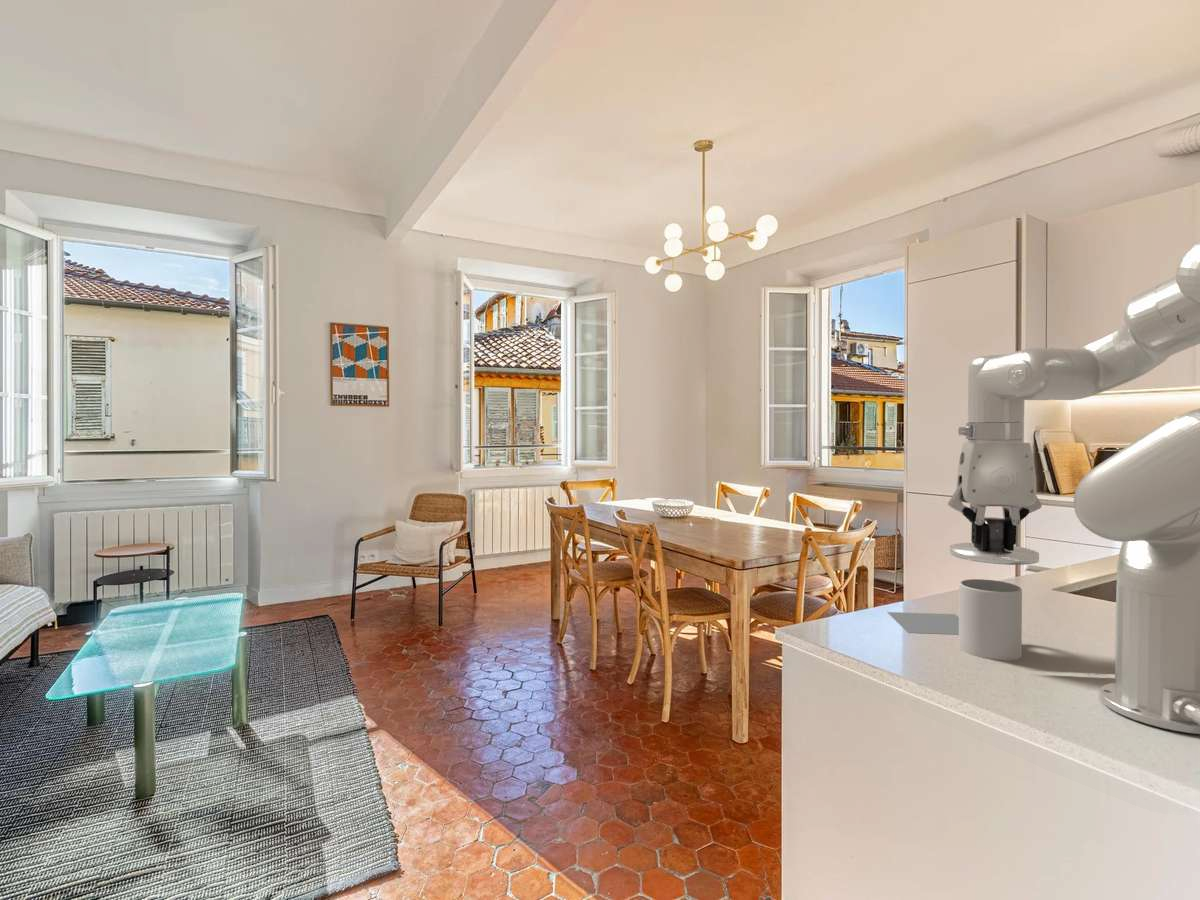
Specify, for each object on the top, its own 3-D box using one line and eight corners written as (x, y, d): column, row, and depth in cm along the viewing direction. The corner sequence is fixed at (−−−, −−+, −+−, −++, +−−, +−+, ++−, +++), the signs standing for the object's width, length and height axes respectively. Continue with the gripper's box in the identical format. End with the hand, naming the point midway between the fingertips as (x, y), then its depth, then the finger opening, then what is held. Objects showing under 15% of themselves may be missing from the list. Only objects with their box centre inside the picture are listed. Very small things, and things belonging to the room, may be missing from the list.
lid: (1055, 565, 92) (1056, 525, 92) (968, 563, 94) (969, 524, 94) (1015, 549, 104) (1016, 513, 104) (938, 547, 106) (939, 513, 106)
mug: (1009, 668, 92) (1009, 595, 92) (948, 652, 99) (949, 584, 99) (1038, 650, 99) (1039, 582, 99) (980, 636, 106) (980, 573, 106)
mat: (983, 638, 105) (983, 635, 105) (908, 636, 107) (908, 632, 107) (954, 617, 117) (954, 614, 117) (887, 615, 119) (887, 612, 119)
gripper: (948, 434, 96) (947, 552, 96) (1066, 433, 93) (1063, 555, 94) (930, 434, 103) (929, 543, 104) (1039, 433, 100) (1037, 545, 101)
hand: (993, 547), depth 99 cm, fingers closed on lid, 3 cm apart
